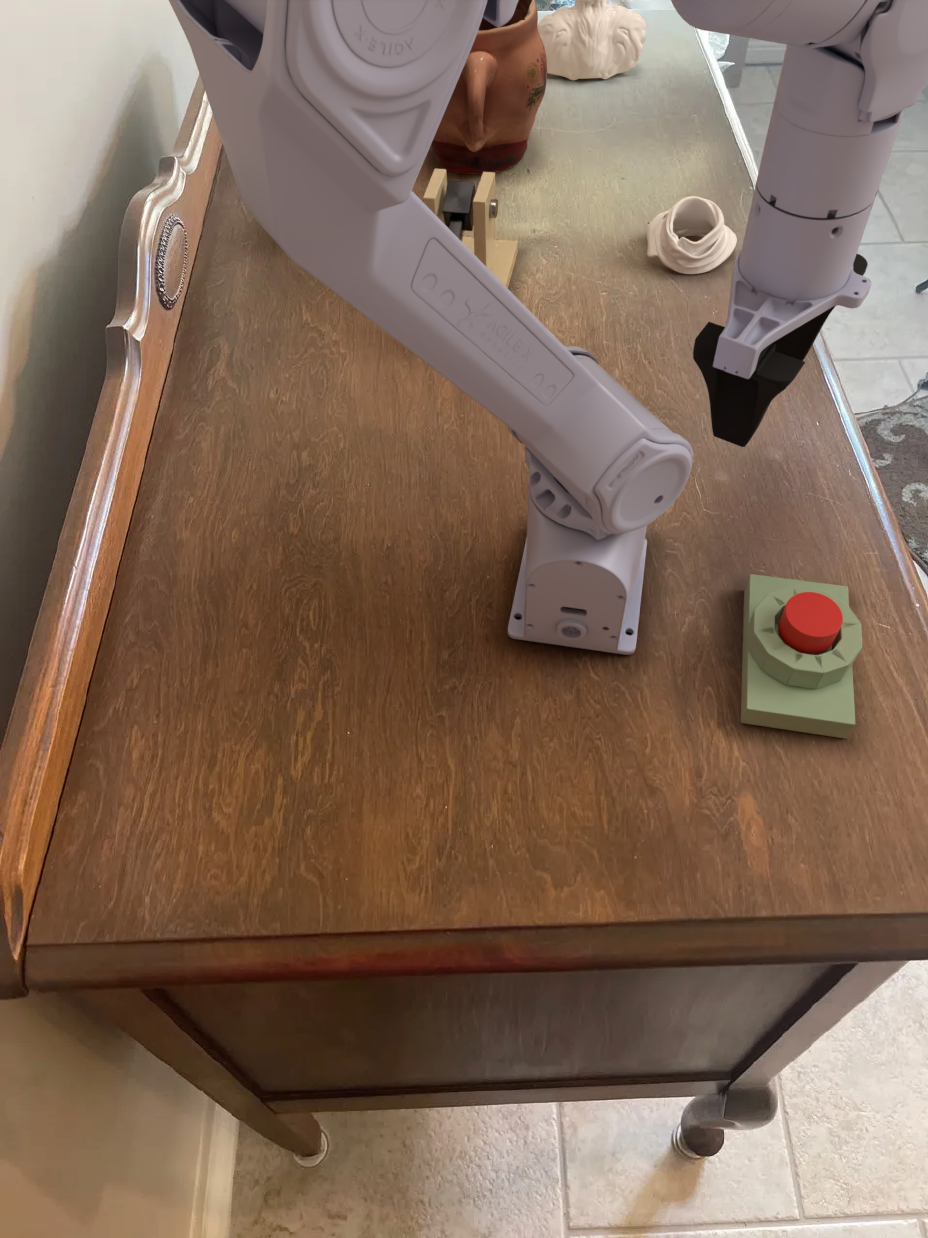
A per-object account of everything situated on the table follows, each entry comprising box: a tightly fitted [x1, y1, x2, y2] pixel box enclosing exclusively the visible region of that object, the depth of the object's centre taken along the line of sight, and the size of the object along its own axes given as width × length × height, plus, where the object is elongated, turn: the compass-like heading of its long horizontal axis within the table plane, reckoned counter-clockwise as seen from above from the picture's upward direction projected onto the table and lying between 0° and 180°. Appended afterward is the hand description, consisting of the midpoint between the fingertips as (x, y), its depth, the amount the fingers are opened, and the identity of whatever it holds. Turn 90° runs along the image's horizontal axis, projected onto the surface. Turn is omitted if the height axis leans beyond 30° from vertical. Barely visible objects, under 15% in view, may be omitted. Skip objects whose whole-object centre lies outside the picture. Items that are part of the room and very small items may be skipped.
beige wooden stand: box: [421, 168, 519, 289], centre depth 76 cm, size 10×8×9 cm
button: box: [778, 592, 843, 654], centre depth 53 cm, size 3×3×2 cm
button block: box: [740, 573, 863, 740], centre depth 55 cm, size 10×6×4 cm, turn 169°
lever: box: [442, 180, 477, 241], centre depth 74 cm, size 12×3×3 cm, turn 169°
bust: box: [537, 0, 648, 81], centre depth 99 cm, size 12×8×11 cm
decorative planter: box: [431, 0, 548, 175], centre depth 86 cm, size 20×12×14 cm, turn 3°
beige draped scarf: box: [645, 195, 738, 275], centre depth 80 cm, size 8×7×5 cm
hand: (756, 400), depth 56 cm, fingers open, 7 cm apart
